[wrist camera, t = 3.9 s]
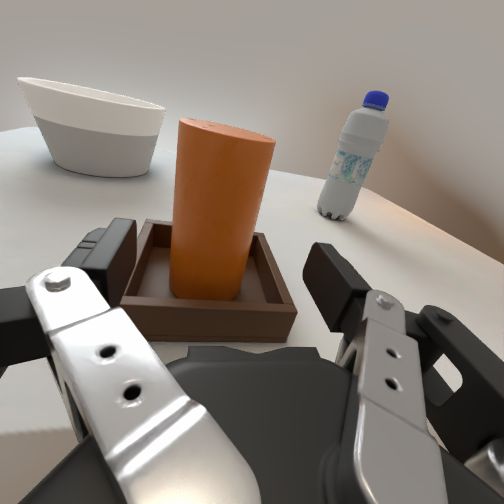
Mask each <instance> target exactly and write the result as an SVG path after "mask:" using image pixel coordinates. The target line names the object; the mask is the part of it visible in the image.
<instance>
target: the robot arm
mask: <svg viewBox="0 0 504 504" xmlns="http://www.w3.org/2000/svg"><path fill="white" fill-rule="evenodd" d="M136 259H137V224H136V220H132V219H123V218H114V219H113V221H112V222H111V223H110V225H109V226H108V228H107V229H106V228H98V229H96V230H94V231H92V232H89V233H88V234H87V235H86V236H85V237H84V239H83V240H82V242H80V243H79V244H78V246H77V248H75V249H74V250H73V252H72V253H71V254H70V255H69V256H68V258H67V259H66V260H65V261H64V262H63V263H62V265H61V266H60V267H55V268H50V269H46V270H43V271H41V272H38V273H36V274H35V275H33V276H32V277H30V278H29V279H28V281H27V282H26V285H25V286H21V287H13V288H5V289H0V378H1V377H2V375H3V374H4V372H5V371H6V369H7V367H8V366H10V365H14V364H18V363H23V362H27V361H31V360H36V359H40V358H44V357H46V360H47V363H48V365H49V367H50V370H51V372H52V375H53V377H54V380H55V382H56V385H57V387H58V389H59V392H60V394H61V397H62V399H63V402H64V404H65V407H66V410H67V413H68V416H69V419H70V421H71V424H72V427H73V430H74V432H75V435H76V437H77V440H78V442H79V444H78V445H77V446H76V447H75V448H74V449H73V450H72V451H71V452H70V453H69V454H68V455H67V456H66V457H65V458H64V459H63V460H62V461H61V462H60V463H59V464H58V465H57V466H56V467H55V468H54V469H53V470H52V471H51V472H50V473H49V474H48V475H47V476H46V477H45V478H43V479H42V481H40V483H38V485H37V486H35V487H34V488H33V489H32V490H31V491H30V492H29V493H28V494H27V495H26V496H25V497H24V498H23V499H22V500H21V501H20V502H19V503H18V504H504V362H503V361H502V360H501V359H500V358H499V357H498V356H497V355H496V354H494V353H493V352H492V351H491V350H490V349H489V348H488V347H487V346H486V345H485V344H484V343H483V342H482V341H481V340H480V339H478V338H477V337H476V336H475V335H474V334H473V333H472V332H471V331H470V330H469V329H468V328H467V327H466V326H465V325H463V324H462V323H461V322H460V321H459V320H458V319H457V318H456V317H455V316H453V315H452V314H450V313H449V312H447V311H445V310H443V309H441V308H439V307H436V306H432V305H426V306H424V307H423V309H422V310H421V312H420V313H419V314H416V313H413V312H409V311H406V310H404V307H403V305H402V304H401V303H400V302H399V301H398V300H397V299H396V298H395V297H393V296H391V295H390V294H388V293H385V292H383V291H379V290H373V289H372V288H371V287H370V286H369V285H368V283H367V282H366V281H365V280H364V279H363V278H362V277H361V275H360V274H358V272H357V271H356V270H355V269H354V267H353V266H352V265H351V264H350V263H349V262H348V261H347V260H346V259H345V258H343V257H342V256H341V255H340V254H339V253H338V252H337V250H336V249H335V248H334V247H333V246H332V245H331V244H326V243H318V242H315V243H314V244H313V245H312V247H311V250H310V253H309V255H308V258H307V261H306V263H305V266H304V269H303V281H304V283H305V285H306V287H307V289H308V290H309V292H310V294H311V296H312V298H313V300H314V302H315V304H316V305H317V307H318V309H319V311H320V313H321V315H322V317H323V319H324V321H325V322H326V324H327V326H328V328H329V330H330V332H337V333H343V334H344V335H343V337H342V339H341V341H340V345H339V348H338V352H337V356H336V360H335V363H333V362H331V361H329V360H326V359H323V358H320V355H319V353H318V351H317V349H316V347H285V348H281V349H277V350H273V351H269V352H265V353H261V354H254V353H250V352H245V351H241V350H237V349H232V348H228V347H224V346H188V354H187V357H185V358H181V359H178V360H175V361H173V362H170V363H168V364H166V365H164V364H163V363H162V361H161V360H160V359H159V357H158V356H157V354H156V353H155V352H154V350H153V349H152V348H151V346H150V345H149V344H148V342H147V341H146V340H145V338H144V337H143V336H142V334H141V333H140V332H139V330H138V329H137V328H136V326H135V325H134V324H133V322H132V321H131V320H130V318H129V317H128V316H127V314H126V313H125V312H124V310H123V309H122V308H121V307H119V305H120V302H121V300H122V297H123V295H124V293H125V290H126V288H127V285H128V283H129V280H130V278H131V275H132V273H133V270H134V268H135V265H136ZM443 353H444V354H445V355H446V356H447V357H448V359H449V360H450V361H451V362H452V363H453V364H454V366H455V367H456V368H457V369H458V370H459V371H460V373H461V375H462V379H463V383H462V386H461V387H460V388H459V389H458V390H457V391H456V392H455V393H454V392H453V391H452V390H451V388H450V387H449V386H448V384H447V383H446V382H445V381H444V379H443V378H442V377H441V376H440V374H439V373H438V372H437V371H436V369H435V368H434V367H433V365H434V363H435V362H436V361H437V360H438V359H439V358H440V357H441V356H442V354H443ZM426 417H427V418H428V420H429V422H430V423H431V425H432V426H433V428H434V430H435V431H436V432H437V434H438V436H439V437H440V439H441V440H442V442H443V443H444V445H445V447H446V448H447V450H448V451H449V452H448V451H446V450H445V449H444V448H443V447H441V446H440V445H439V444H438V442H437V440H436V439H435V438H434V437H433V436H432V435H431V434H430V433H429V431H428V427H427V419H426Z"/></svg>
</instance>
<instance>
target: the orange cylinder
mask: <svg viewBox="0 0 504 504" xmlns="http://www.w3.org/2000/svg"><path fill="white" fill-rule="evenodd" d="M275 143H276V141H275V140H273V139H272V138H269V137H267V136H264V135H261V134H258V133H255V132H251V131H248V130H244V129H240V128H236V127H232V126H228V125H223V124H219V123H214V122H209V121H203V120H197V119H187V118H183V119H179V129H178V144H177V159H176V175H175V190H174V206H173V221H172V237H171V252H170V268H169V286H170V289H171V290H172V292H173V293H174V294H175V295H176V296H177V297H178V298H180V299H194V300H214V301H232V300H233V299H234V298H235V297H236V296H237V295H238V293H239V291H240V287H241V283H242V279H243V275H244V271H245V267H246V263H247V258H248V254H249V250H250V246H251V242H252V238H253V234H254V230H255V225H256V221H257V217H258V213H259V209H260V205H261V201H262V197H263V192H264V188H265V184H266V180H267V176H268V172H269V168H270V164H271V159H272V155H273V151H274V147H275Z"/></svg>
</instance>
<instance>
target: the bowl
mask: <svg viewBox="0 0 504 504" xmlns="http://www.w3.org/2000/svg"><path fill="white" fill-rule="evenodd" d="M17 81H18V84H19V86H20V88H21V90H22V92H23V94H24V97H25V99H26V101H27V103H28V106H29V108H30V110H31V112H32V114H33V116H34V118H35V120H36V122H37V124H38V127H39V129H40V131H41V133H42V135H43V138H44V140H45V142H46V144H47V146H48V149H49V151H50V153H51V155H52V157H53V159H54V162H55V163H56V164H57V165H58V166H60V167H62V168H65V169H67V170H70V171H74V172H77V173H82V174H87V175H93V176H102V177H133V176H139V175H142V174H145V173H146V172H148V170H149V166H150V163H151V159H152V156H153V152H154V149H155V145H156V141H157V138H158V135H159V132H160V128H161V125H162V122H163V118H164V114H165V111H166V110H165V108H164V107H162V106H160V105H157V104H153V103H150V102H147V101H143V100H139V99H136V98H132V97H128V96H123V95H119V94H115V93H111V92H106V91H101V90H97V89H92V88H87V87H82V86H77V85H72V84H67V83H61V82H56V81H50V80H43V79H36V78H27V77H19V78H17Z"/></svg>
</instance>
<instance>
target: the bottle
mask: <svg viewBox="0 0 504 504" xmlns="http://www.w3.org/2000/svg"><path fill="white" fill-rule="evenodd" d="M388 98H389V97H388V95H387V94H386V93H383V92H381V91H371V92H369V93H367V95H366V97H365V99H364V102H363V105H362V106H364V108H361V109H358V110H355V111H352V112H351V113H350V115H349V117H348V120H347V122H346V124H345V126H344V128H343V130H342V131H341V137H340V139H339V147H338V150H337V153H336V156H335V158H334V161H333V164H332V167H331V169H330V172H329V175H328V178H327V180H326V183H325V185H324V187H323V189H322V192H321V194H320V197H319V200H318V204H317V209H318V211H319V212H320V213H322V215H323V216H327V214H328V212H331V213H332V216H331V218H332V219H336V218H337V217H338V216H339V220H344V219H345V218H346V217H347V216H348V215H349V214H350V213H351V211H352V210H353V208H354V205H355V202H356V200H357V197H358V194H359V191H360V188H361V186H362V184H363V181H364V179H365V177H366V174H367V172H368V170H369V167H370V165H371V163H372V160H373V158H374V156H375V155H376V153H377V152H379V148H380V147H381V145H382V144H383V141H384V138H385V134H386V131H387V128H388V124H389V119H388V118H387V117H386V116H385V115H384V114H383V113H382V111H384V110H385V108H386V106H387V103H388V100H389V99H388Z"/></svg>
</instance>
